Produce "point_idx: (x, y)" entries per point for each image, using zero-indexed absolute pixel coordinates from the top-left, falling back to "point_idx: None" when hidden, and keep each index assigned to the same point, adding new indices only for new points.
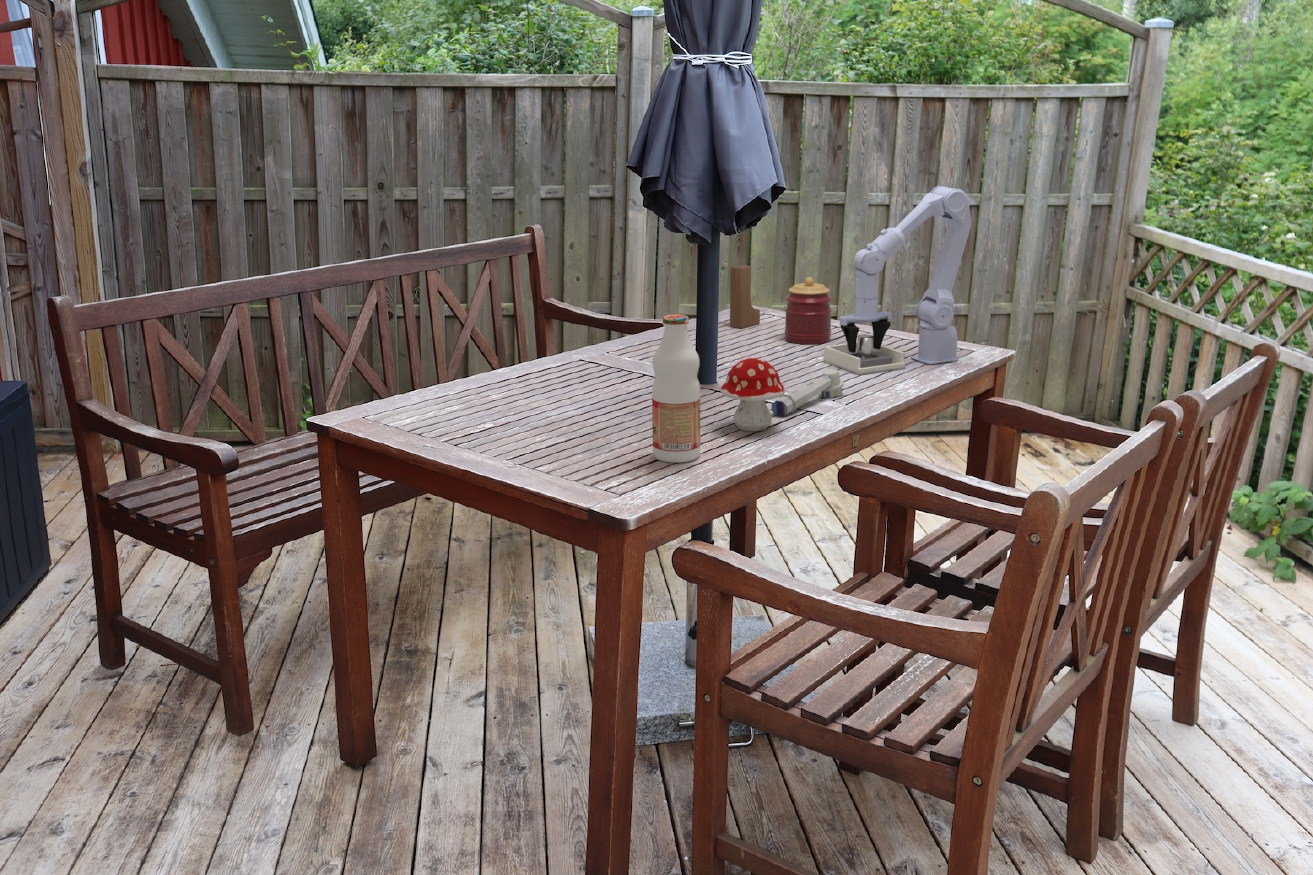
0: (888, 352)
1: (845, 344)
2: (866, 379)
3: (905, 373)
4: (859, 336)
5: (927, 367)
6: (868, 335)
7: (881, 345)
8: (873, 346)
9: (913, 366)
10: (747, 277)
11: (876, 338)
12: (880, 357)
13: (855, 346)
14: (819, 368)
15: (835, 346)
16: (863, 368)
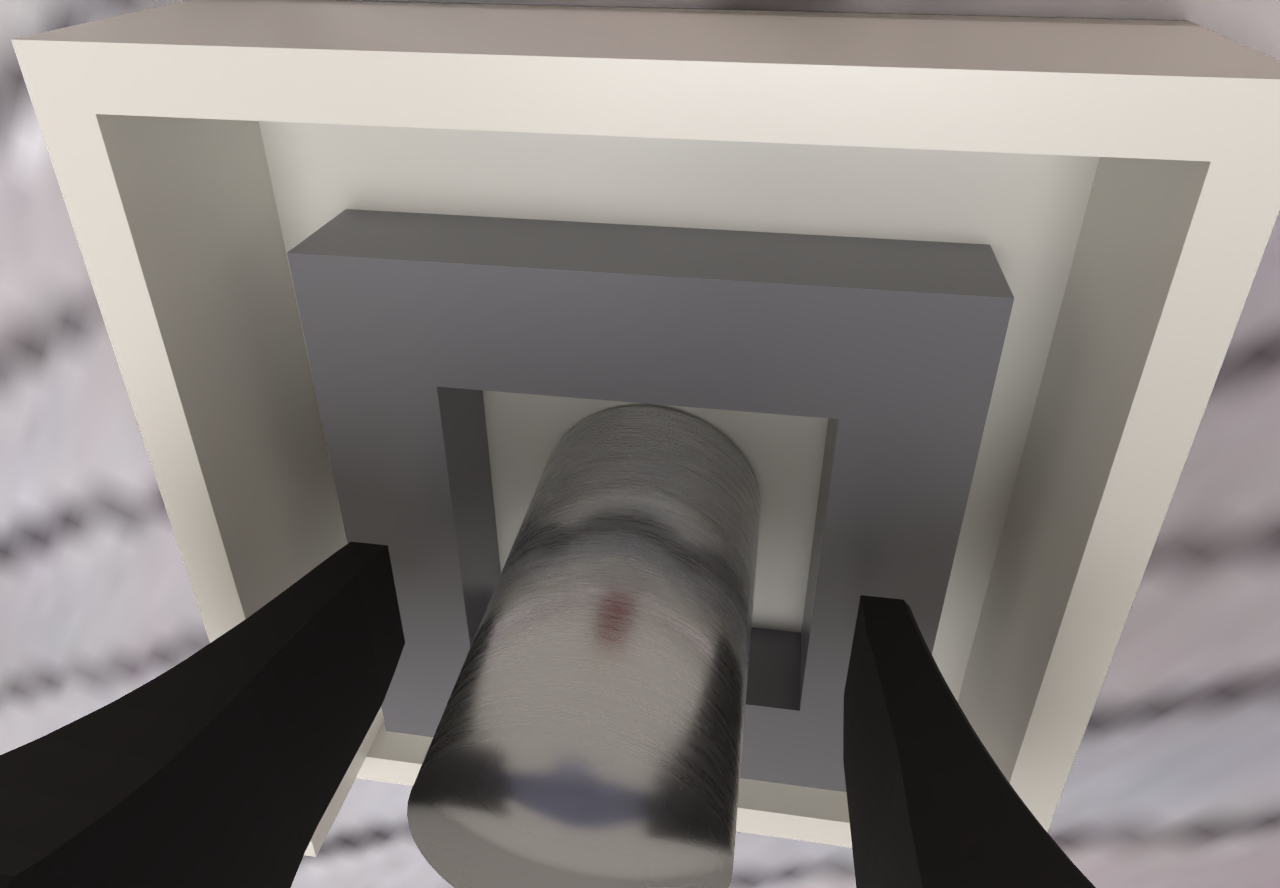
0: (1004, 710)
1: (544, 111)
2: (363, 825)
3: (817, 884)
4: (440, 796)
5: (1220, 879)
6: (669, 828)
7: (1127, 565)
8: (862, 612)
9: (1136, 790)
10: None
11: (873, 795)
12: (768, 727)
13: (350, 736)
14: (42, 305)
15: (276, 119)
16: (395, 775)
